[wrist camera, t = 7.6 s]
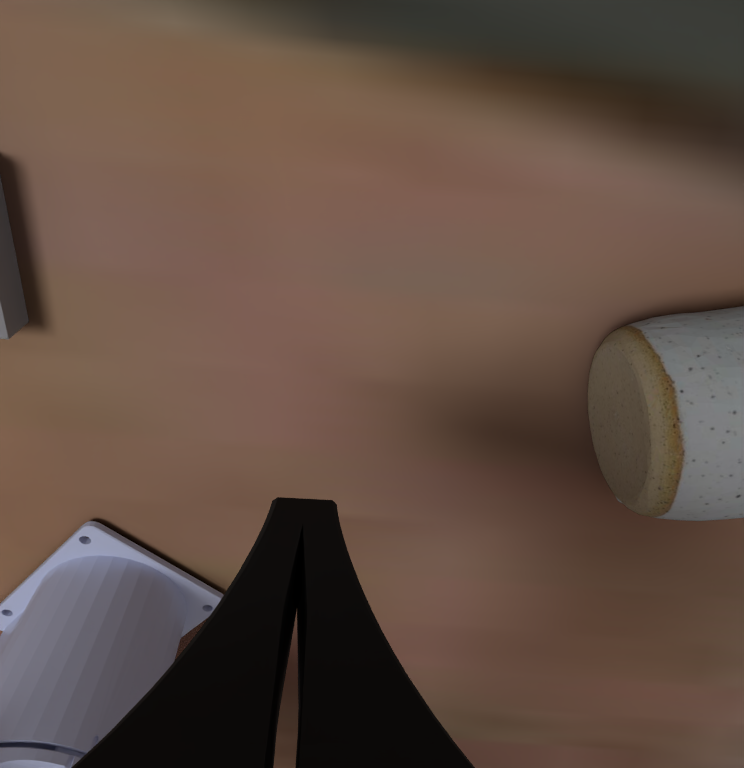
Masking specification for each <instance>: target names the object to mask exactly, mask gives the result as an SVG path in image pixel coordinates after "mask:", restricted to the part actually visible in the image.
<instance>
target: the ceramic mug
mask: <svg viewBox="0 0 744 768" xmlns="http://www.w3.org/2000/svg"><path fill="white" fill-rule="evenodd" d="M588 416H589V423H590V430H591V436H592V441H593V446H594V450H595V453H596V456H597V460H598V463H599V466H600V469H601V471H602V474H603V476H604V478H605V480H606V482H607V484H608V486H609V487H610V489H611V491H612V492H613V493H614V495H615V496H616V498H617V500H618V501H619V502H621V503H623V504H624V505H625V506H626V507H627V508H629V509H630V510H632V511H634V512H636V513H637V514H639V515H644V516H649V517H654V518H661V519H672V520H689V521H706V520H720V519H733V518H744V306H741V307H734V308H727V309H720V310H712V311H705V312H696V313H682V314H672V315H666V316H659V317H653V318H649V319H646V320H642V321H639V322H635V323H632V324H629V325H626V326H623V327H620V328H619V329H617V330H615V331H613V332H611V333H610V334H609V335H608V336H607V337H606V338H605V339H604V341H603V342H602V344H601V345H600V347H599V348H598V350H597V352H596V353H595V355H594V358H593V361H592V365H591V369H590V372H589V383H588Z"/></svg>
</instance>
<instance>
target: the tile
mask: <svg viewBox="0 0 744 768" xmlns="http://www.w3.org/2000/svg"><path fill="white" fill-rule="evenodd" d="M28 322H29V319H28V314H27V309H26V304H25V299H24V294H23V289H22V284H21V278H20V273H19V268H18V263H17V258H16V253H15V248H14V243H13V238H12V232H11V227H10V222H9V217H8V212H7V207H6V202H5V197H4V192H3V186H2V181H1V176H0V339H9V338H11V337H12V336H13V335H14V334H15V333H16V332H17V331H19V330H20V329H21V328H22V327H23V326H24V325H26V324H27V323H28Z"/></svg>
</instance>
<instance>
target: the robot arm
mask: <svg viewBox="0 0 744 768" xmlns="http://www.w3.org/2000/svg"><path fill="white" fill-rule="evenodd" d="M85 536H86V537H85ZM87 537H89V538H87ZM296 611H297V633H298V700H299V712H298V739H297V754H296V768H475V767H474V766H473V765H472V764H471V762H470V761H469V760H468V759H467V757H466V756H465V755H464V754H463V752H462V751H461V750H460V749H459V747H458V746H457V745H456V744H455V742H454V741H453V740H452V738H451V737H450V736H449V734H448V733H447V732H446V730H445V729H444V728H443V726H442V725H441V724H440V722H439V721H438V720H437V718H436V717H435V716H434V714H433V713H432V711H431V710H430V708H429V707H428V705H427V704H426V702H425V701H424V699H423V698H422V696H421V695H420V693H419V692H418V690H417V689H416V687H415V686H414V684H413V683H412V681H411V680H410V678H409V677H408V675H407V674H406V672H405V670H404V669H403V667H402V665H401V664H400V662H399V660H398V659H397V657H396V655H395V654H394V652H393V650H392V648H391V646H390V645H389V643H388V641H387V639H386V637H385V636H384V634H383V632H382V630H381V628H380V626H379V624H378V622H377V620H376V618H375V616H374V614H373V612H372V610H371V607H370V605H369V603H368V601H367V599H366V597H365V594H364V592H363V590H362V587H361V585H360V583H359V580H358V578H357V575H356V572H355V570H354V567H353V564H352V562H351V559H350V556H349V553H348V551H347V547H346V544H345V541H344V538H343V534H342V530H341V527H340V522H339V517H338V512H337V504H336V503H335V502H334V501H333V500H317V499H298V498H279V497H278V498H276V499H275V500H273V501H272V504H271V507H270V510H269V513H268V515H267V518H266V520H265V523H264V525H263V527H262V529H261V531H260V534H259V536H258V538H257V540H256V542H255V544H254V546H253V547H252V549H251V551H250V553H249V554H248V556H247V558H246V560H245V562H244V563H243V565H242V567H241V569H240V570H239V572H238V574H237V575H236V577H235V579H234V580H233V582H232V583H231V585H230V586H229V588H228V589H227V591H226V593H225V594H224V595H223V594H222V593H221V592H219V591H217V590H215V589H214V588H212V587H210V586H208V585H207V584H205V583H203V582H201V581H200V580H198V579H196V578H194V577H193V576H191V575H189V574H188V573H186V572H184V571H182V570H181V569H179V568H177V567H175V566H174V565H172V564H170V563H168V562H167V561H165V560H163V559H161V558H160V557H158V556H156V555H154V554H153V553H151V552H149V551H148V550H146V549H144V548H142V547H141V546H139V545H137V544H135V543H134V542H132V541H130V540H128V539H127V538H125V537H123V536H121V535H120V534H118V533H116V532H115V531H113V530H111V529H109V528H108V527H106V526H104V525H102V524H101V523H98V522H95V521H89V522H86V523H84V524H83V525H82V526H81V527H80V528H79V529H78V530H77V531H76V532H75V533H74V534H73V535H72V536H71V537H70V538H69V539H68V540H67V541H65V542H64V543H63V544H62V545H61V546H60V547H59V548H58V549H57V550H56V551H55V552H54V553H53V554H52V555H51V556H50V557H49V558H48V559H47V560H45V561H44V562H43V563H42V564H41V565H40V566H39V567H38V568H37V569H36V570H35V571H34V572H33V573H32V574H31V575H30V576H29V577H28V578H27V579H25V580H24V581H23V582H22V583H21V584H20V585H19V586H18V587H17V588H16V589H15V590H14V591H13V592H12V593H11V594H10V595H9V596H8V597H7V598H5V599H4V600H3V601H2V602H1V603H0V630H1V631H3V632H2V634H1V636H0V768H273V765H274V754H275V743H276V732H277V724H278V716H279V709H280V703H281V697H282V691H283V686H284V680H285V674H286V668H287V663H288V657H289V651H290V645H291V640H292V634H293V628H294V622H295V617H296ZM208 617H209V618H208ZM207 618H208V619H207ZM205 619H207V620H206V622H205V623H204V625H203V626H202V627H201V629H200V630H199V631H198V633H197V634H196V635H195V636H194V638H193V639H192V640H191V642H190V643H189V644H188V645H187V647H186V648H185V649H184V650H183V652H182V653H181V654H180V655H179V656H178V658H177V659H176V660H175V657H176V653H177V650H178V646H179V642H180V639H181V637H183V636H184V635H185V634H187V633H188V632H189V631H191V630H192V629H193V628H195V627H196V626H197V625H199V624H200V623H201V622H203V621H204V620H205Z"/></svg>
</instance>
